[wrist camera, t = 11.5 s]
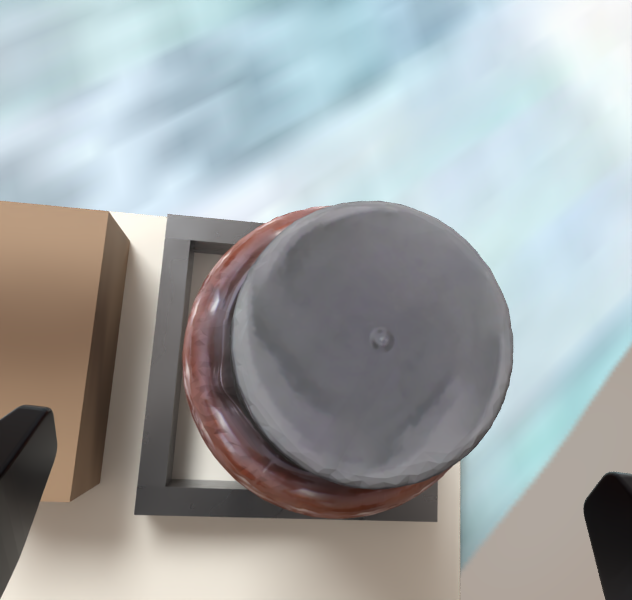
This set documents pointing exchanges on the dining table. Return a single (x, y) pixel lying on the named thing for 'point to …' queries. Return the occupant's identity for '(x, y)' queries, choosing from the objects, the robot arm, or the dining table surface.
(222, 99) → the dining table surface
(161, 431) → the gray square frame
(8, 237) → the walnut wall block
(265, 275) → the supplement bottle
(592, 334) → the dining table surface
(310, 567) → the cream flat board
